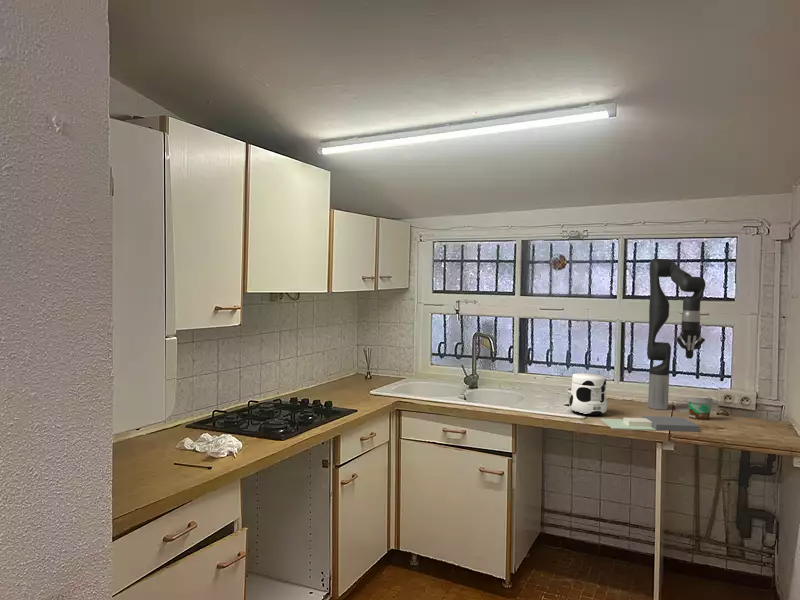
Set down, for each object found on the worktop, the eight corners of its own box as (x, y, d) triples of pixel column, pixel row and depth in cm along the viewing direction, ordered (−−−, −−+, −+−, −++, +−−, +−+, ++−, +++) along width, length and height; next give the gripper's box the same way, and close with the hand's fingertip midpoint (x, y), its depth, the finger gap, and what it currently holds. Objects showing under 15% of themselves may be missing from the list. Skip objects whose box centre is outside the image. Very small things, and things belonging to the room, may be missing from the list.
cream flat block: (623, 422, 265) (623, 417, 265) (646, 422, 265) (646, 418, 265) (628, 425, 258) (629, 421, 258) (652, 426, 258) (652, 422, 258)
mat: (600, 419, 271) (600, 418, 271) (640, 421, 270) (640, 419, 270) (612, 429, 254) (612, 427, 254) (655, 430, 253) (655, 429, 253)
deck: (642, 421, 270) (642, 415, 270) (682, 422, 269) (682, 417, 269) (656, 430, 254) (656, 424, 254) (698, 431, 253) (699, 426, 253)
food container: (696, 421, 273) (697, 399, 273) (686, 418, 279) (687, 396, 278) (718, 420, 276) (719, 398, 276) (708, 417, 282) (709, 396, 282)
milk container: (578, 407, 296) (579, 371, 295) (612, 413, 284) (613, 376, 284) (562, 413, 283) (563, 375, 282) (598, 419, 271) (599, 380, 271)
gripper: (701, 320, 274) (700, 357, 274) (672, 319, 274) (671, 356, 275) (709, 321, 266) (707, 359, 267) (679, 320, 267) (677, 359, 267)
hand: (689, 358), depth 271 cm, fingers closed
